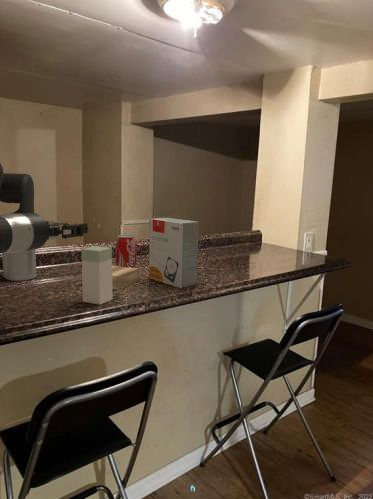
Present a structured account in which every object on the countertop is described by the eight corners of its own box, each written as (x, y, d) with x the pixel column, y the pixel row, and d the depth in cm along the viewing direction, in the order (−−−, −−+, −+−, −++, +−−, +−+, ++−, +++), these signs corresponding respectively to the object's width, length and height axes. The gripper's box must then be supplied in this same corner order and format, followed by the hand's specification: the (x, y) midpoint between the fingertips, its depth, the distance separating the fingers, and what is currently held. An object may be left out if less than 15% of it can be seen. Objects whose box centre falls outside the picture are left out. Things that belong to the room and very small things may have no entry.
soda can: (113, 271, 139) (113, 234, 136) (133, 269, 141) (133, 234, 139) (118, 275, 132) (118, 237, 130) (139, 274, 135) (139, 236, 133)
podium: (85, 285, 120) (84, 272, 119) (108, 276, 130) (107, 265, 130) (118, 289, 115) (117, 276, 114) (139, 280, 126) (139, 268, 125)
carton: (83, 301, 103) (81, 249, 101) (95, 296, 108) (94, 246, 106) (100, 304, 101) (99, 251, 99) (112, 298, 106) (111, 247, 104)
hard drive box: (148, 279, 128) (148, 218, 125) (165, 275, 133) (166, 217, 130) (180, 288, 117) (181, 222, 114) (198, 284, 122) (200, 220, 119)
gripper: (45, 214, 74) (96, 212, 88) (-11, 212, 79) (46, 210, 94) (46, 254, 75) (97, 245, 89) (-9, 249, 80) (47, 241, 95)
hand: (71, 227), depth 92 cm, fingers open, 8 cm apart
